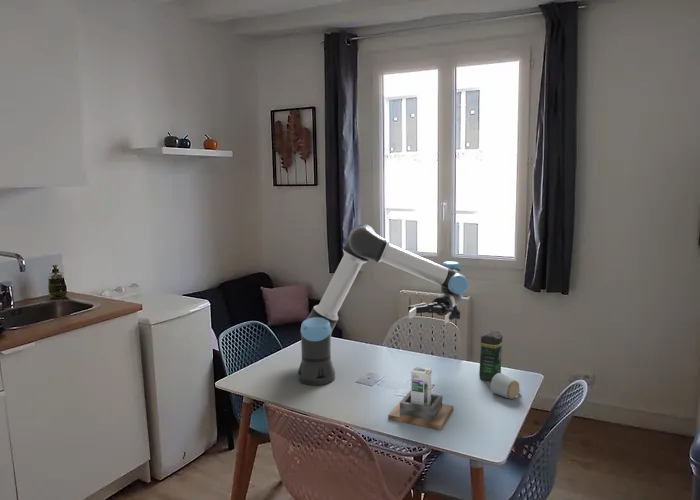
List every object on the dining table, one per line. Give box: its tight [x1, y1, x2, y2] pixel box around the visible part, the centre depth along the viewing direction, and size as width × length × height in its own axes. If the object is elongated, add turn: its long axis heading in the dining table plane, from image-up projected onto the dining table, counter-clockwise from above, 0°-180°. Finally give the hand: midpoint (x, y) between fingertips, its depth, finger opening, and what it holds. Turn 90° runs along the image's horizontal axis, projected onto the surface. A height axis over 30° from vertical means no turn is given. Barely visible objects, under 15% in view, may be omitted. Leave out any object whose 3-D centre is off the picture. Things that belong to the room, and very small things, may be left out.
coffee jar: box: [478, 330, 503, 382], centre depth 212 cm, size 10×8×19 cm
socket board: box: [387, 390, 454, 431], centre depth 181 cm, size 18×16×6 cm
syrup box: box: [410, 366, 433, 407], centre depth 180 cm, size 6×6×14 cm
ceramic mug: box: [490, 372, 521, 400], centre depth 196 cm, size 11×8×8 cm
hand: (427, 317), depth 194 cm, fingers open, 13 cm apart
